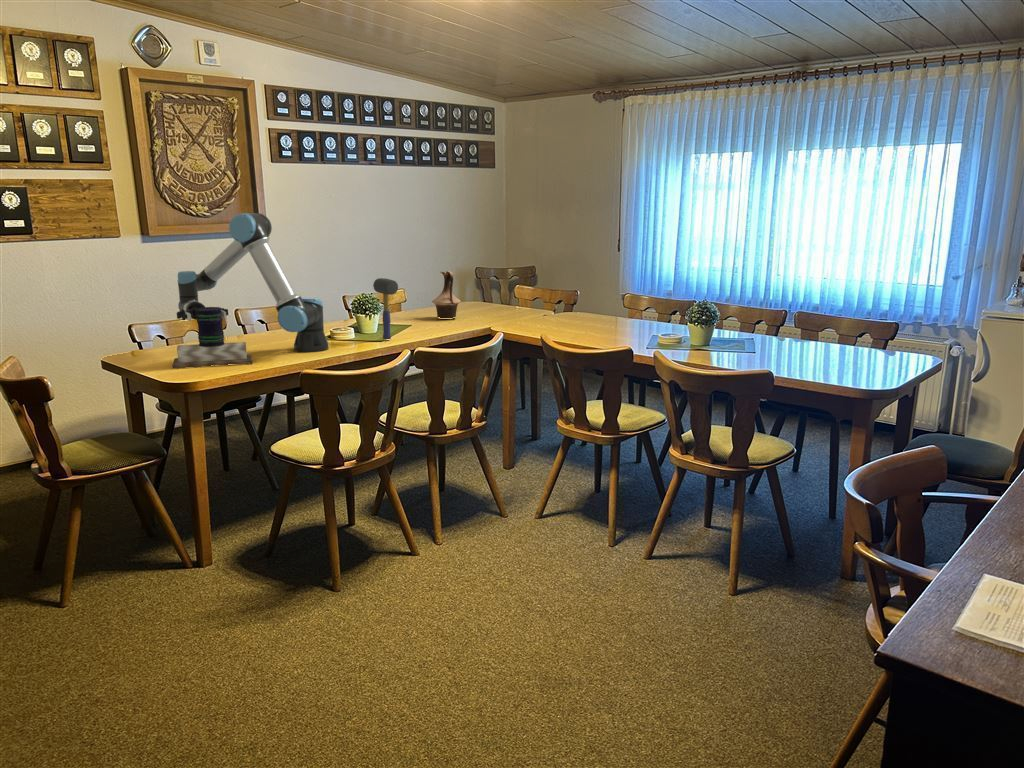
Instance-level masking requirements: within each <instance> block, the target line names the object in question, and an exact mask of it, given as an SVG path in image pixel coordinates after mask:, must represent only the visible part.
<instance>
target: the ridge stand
mask: <svg viewBox="0 0 1024 768" xmlns="http://www.w3.org/2000/svg"><path fill="white" fill-rule="evenodd" d="M176 353H177V357H175V358H174V359H173V362H172V364H171V365H172V366H171V368H177V369H186V368H185V367H194V368H200V367H199V366H211V365H228V364H246V365H250V364H249V363H253V356H252V354H251V353H250V354H249V353H247V342H245V341H243V342H242V341H240V342H239V341H238V342H224V345H222V346H217V347H201V346H199V343H198V344H178V345H176ZM228 366H229V365H228ZM211 367H212V366H211Z"/></svg>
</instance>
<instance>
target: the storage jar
mask: <svg viewBox="0 0 1024 768" xmlns="http://www.w3.org/2000/svg"><path fill="white" fill-rule="evenodd" d="M222 308H223V307H221V306H220V307H219V306H207V307H206V306H205V307H202V308H197V309H196V311H197V312H196V317H197V320H196V323H197V328H198V330H197V331H198V332H197V337H198V338H197V339H198V342H199V343H198V344H199V346H201V347H217V346H222V345H224V343H225V333H224V328H223V327H224V326H223V321H224V318H223V317H222V311H221V310H222Z"/></svg>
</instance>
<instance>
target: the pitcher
mask: <svg viewBox="0 0 1024 768" xmlns="http://www.w3.org/2000/svg"><path fill="white" fill-rule="evenodd" d="M440 273H441V274H442V275H443V279H444V282H443V289H442V291H441V292H440V294H439V295H438V296H437V297H436V298H434V299H432V301H431V303H434V305H435V309H436V316H437V317H440V318H453V317H456V318H457V310H458V306H459V303H461V302H462V301H461V300H460V299H459V298H457V296H456V295H455V294H454V293H453V285H454V275H455V274H454V273H453V272H452V271H450V270H446V271H440ZM437 317H436V318H437Z"/></svg>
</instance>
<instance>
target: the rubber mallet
mask: <svg viewBox="0 0 1024 768" xmlns="http://www.w3.org/2000/svg"><path fill="white" fill-rule="evenodd" d="M372 287H373V290H374V291H375V292H376V293H380V294H382V296H383V297H382V298H383V299H382V303H383V304H382V305H383V306H382V308H383V310H382V326H383V327H382V328H383V329H382V331H383V333H382V338H383V340H384V339H390V340H391V339H392V334H391V322H392V321H391V313H390V307H389V305H390V303H389V302H390V301H389V295H391V296H392V295H395V294H396V293H397V292H398V291H399V284H398V283H397V281H396V280H393V279H390V278H385V277H384V278H382V277H381V278H377V279H375V280H374V281H373V285H372Z"/></svg>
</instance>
